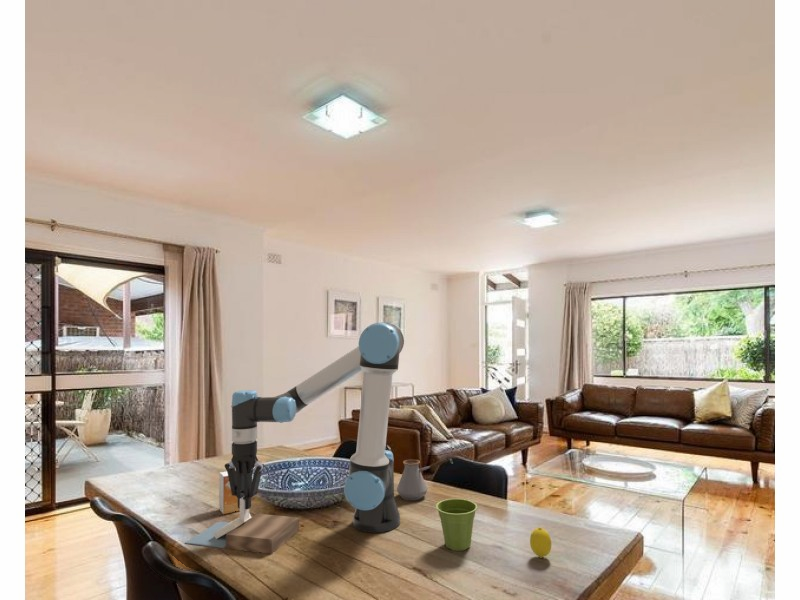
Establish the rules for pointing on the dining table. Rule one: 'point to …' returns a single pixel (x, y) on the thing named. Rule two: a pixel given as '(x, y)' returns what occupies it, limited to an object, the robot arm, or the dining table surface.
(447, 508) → the plant pot
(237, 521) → the ceramic tile
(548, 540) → the lemon
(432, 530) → the dining table surface
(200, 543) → the mat
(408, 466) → the coffee pot
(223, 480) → the small box
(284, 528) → the riser board
